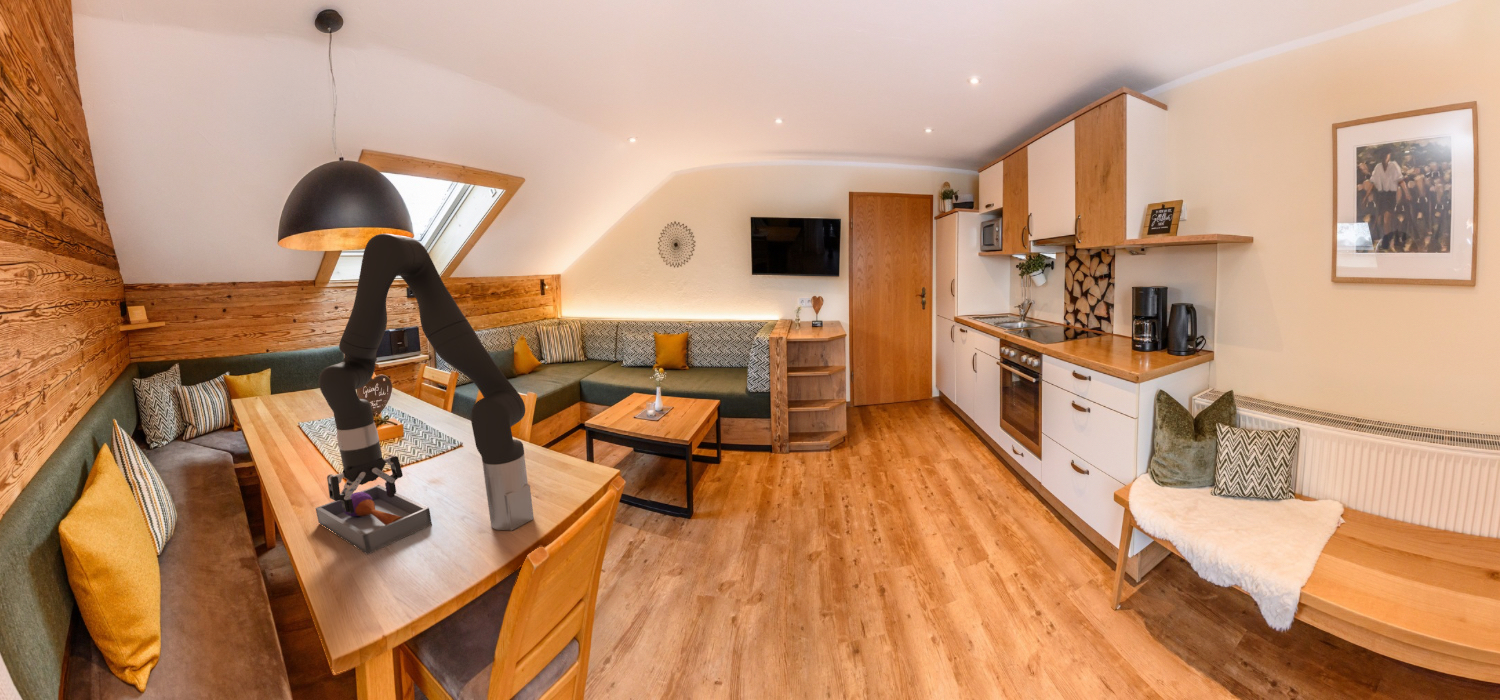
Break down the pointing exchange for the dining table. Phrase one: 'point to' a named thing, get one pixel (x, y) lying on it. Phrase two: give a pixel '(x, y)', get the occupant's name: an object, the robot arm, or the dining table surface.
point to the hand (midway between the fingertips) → (371, 504)
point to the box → (375, 520)
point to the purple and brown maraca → (369, 508)
